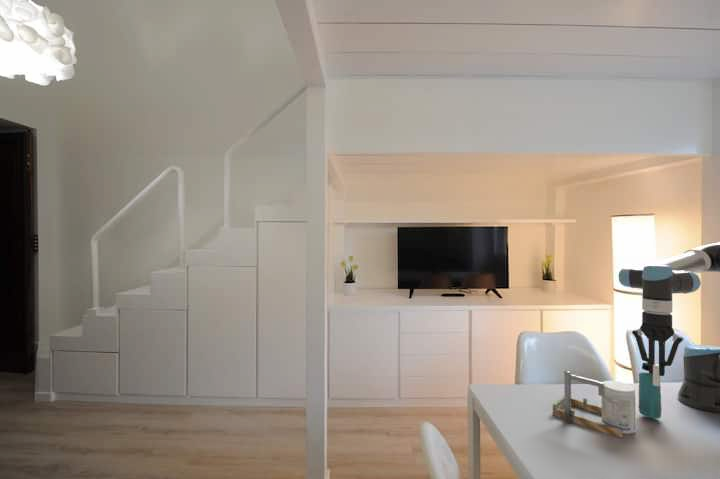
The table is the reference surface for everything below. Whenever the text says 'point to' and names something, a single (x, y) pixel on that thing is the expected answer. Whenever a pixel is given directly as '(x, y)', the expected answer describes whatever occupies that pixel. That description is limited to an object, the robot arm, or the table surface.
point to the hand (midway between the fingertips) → (656, 384)
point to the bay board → (607, 429)
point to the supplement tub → (619, 406)
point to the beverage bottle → (649, 395)
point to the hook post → (567, 391)
